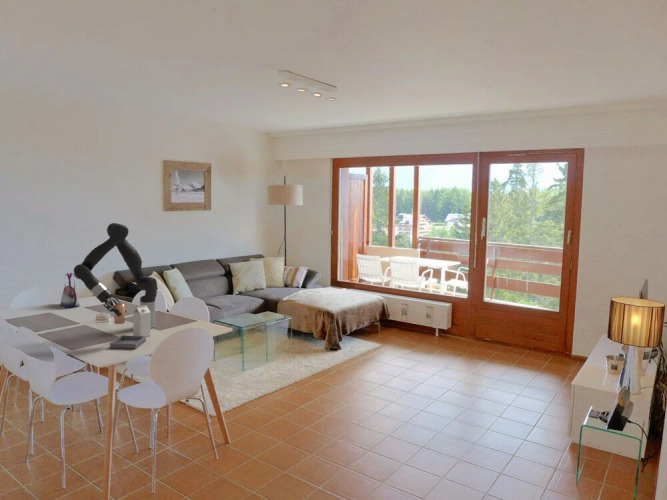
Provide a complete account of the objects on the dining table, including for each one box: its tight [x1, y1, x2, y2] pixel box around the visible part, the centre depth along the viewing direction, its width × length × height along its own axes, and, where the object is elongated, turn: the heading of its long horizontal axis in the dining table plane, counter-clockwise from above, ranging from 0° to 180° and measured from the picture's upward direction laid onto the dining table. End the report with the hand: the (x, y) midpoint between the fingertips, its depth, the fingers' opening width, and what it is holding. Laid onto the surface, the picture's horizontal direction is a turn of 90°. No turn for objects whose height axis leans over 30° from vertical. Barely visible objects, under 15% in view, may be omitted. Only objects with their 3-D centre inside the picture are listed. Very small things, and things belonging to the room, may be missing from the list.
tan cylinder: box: [113, 302, 126, 325], centre depth 280 cm, size 6×6×11 cm
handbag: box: [60, 272, 80, 309], centre depth 367 cm, size 21×10×25 cm, turn 49°
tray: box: [109, 334, 147, 350], centre depth 281 cm, size 16×14×3 cm
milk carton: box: [132, 305, 151, 338], centre depth 298 cm, size 7×7×19 cm
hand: (122, 313), depth 280 cm, fingers closed on tan cylinder, 5 cm apart
